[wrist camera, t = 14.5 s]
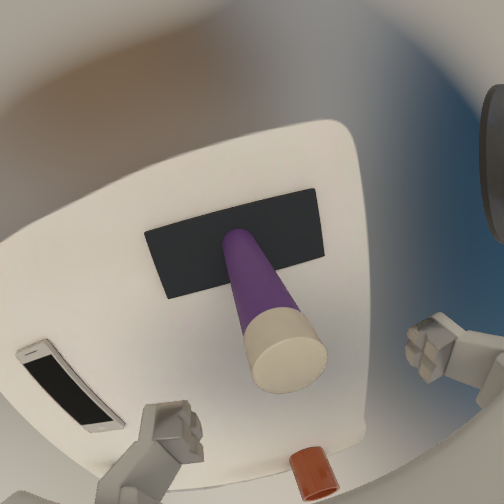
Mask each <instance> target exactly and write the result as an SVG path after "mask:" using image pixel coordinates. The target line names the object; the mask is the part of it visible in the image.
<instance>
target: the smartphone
mask: <svg viewBox="0 0 504 504" xmlns="http://www.w3.org/2000/svg"><path fill="white" fill-rule="evenodd" d="M15 356H16V358H17V359H18V360H19V362H20V363H21V364H22V365H23V367H24V368H25V369H26V370H27V371H28V373H29V374H30V375H31V376H32V377H33V378H34V380H35V381H36V382H37V383H38V384H39V385H40V386H41V387H42V389H43V390H44V391H45V392H46V393H47V394H48V395H49V396H50V397H51V398H52V399H53V400H54V401H55V402H56V403H57V404H58V405H59V406H60V407H61V408H62V409H63V410H64V411H65V412H66V413H67V414H68V415H69V416H71V417H72V418H73V419H74V420H75V421H76V422H77V423H78V424H79V425H81V426H82V427H83V428H84V429H85V430H86V431H88V432H90V433H96V432H104V431H112V430H119V429H124V425H125V423H124V422H123V421H122V420H121V419H119V418H118V417H117V416H116V415H115V414H114V413H113V412H112V411H111V410H110V409H109V408H108V407H107V406H106V405H105V404H104V403H102V402H101V401H100V400H99V399H98V398H97V397H96V396H95V394H94V393H93V392H92V391H91V390H90V389H89V388H88V387H87V386H86V385H85V384H84V383H83V382H82V381H81V380H80V378H79V377H78V376H77V375H76V374H75V373H74V372H73V370H72V369H71V368H70V367H69V366H68V365H67V363H66V362H65V361H64V360H63V358H62V357H61V356H60V355H59V353H58V352H57V351H56V350H55V348H54V347H53V346H52V344H51V343H50V342H49V341H48V340H47V339H44V340H42V341H39V342H37V343H35V344H32V345H30V346H28V347H25V348H23V349H20V350H18V351H17V353H16V354H15Z"/></svg>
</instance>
